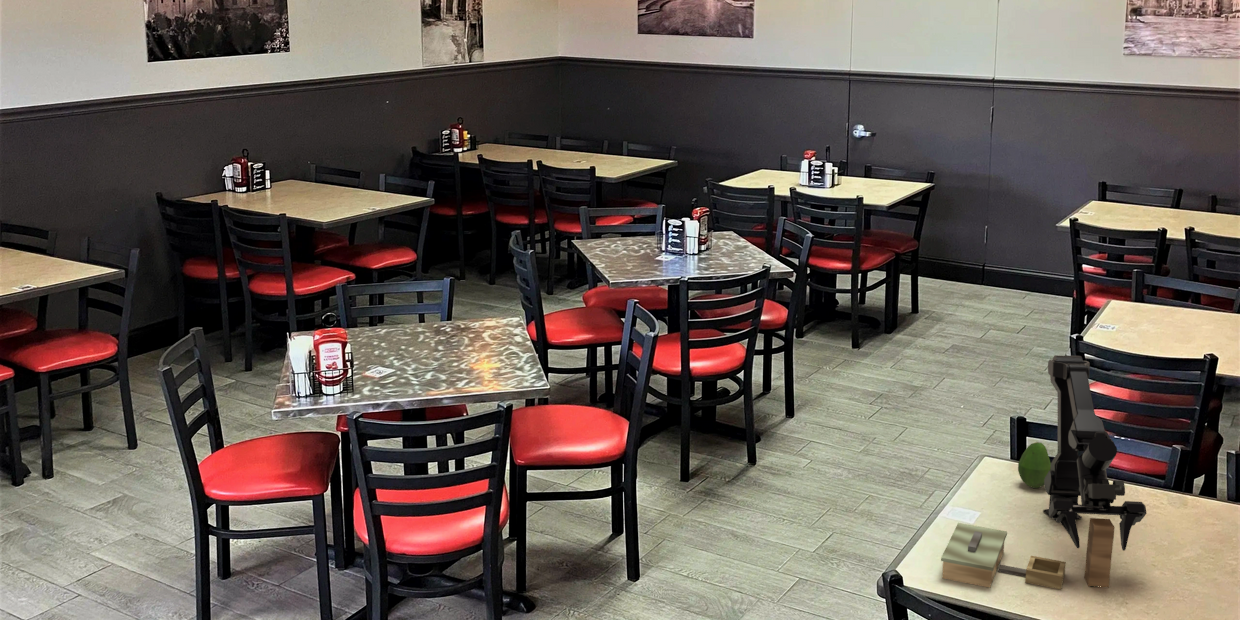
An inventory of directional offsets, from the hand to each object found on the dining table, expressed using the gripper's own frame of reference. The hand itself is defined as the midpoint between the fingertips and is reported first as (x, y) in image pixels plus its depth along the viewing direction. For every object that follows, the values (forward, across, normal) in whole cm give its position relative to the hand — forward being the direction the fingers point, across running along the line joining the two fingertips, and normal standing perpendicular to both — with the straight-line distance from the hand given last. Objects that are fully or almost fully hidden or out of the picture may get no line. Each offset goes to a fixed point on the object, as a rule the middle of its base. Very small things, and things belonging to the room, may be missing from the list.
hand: (1101, 548), depth 240 cm
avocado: (-30, -4, +43) cm, 52 cm away
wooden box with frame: (+3, -18, +9) cm, 21 cm away
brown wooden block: (+5, 0, +7) cm, 9 cm away
